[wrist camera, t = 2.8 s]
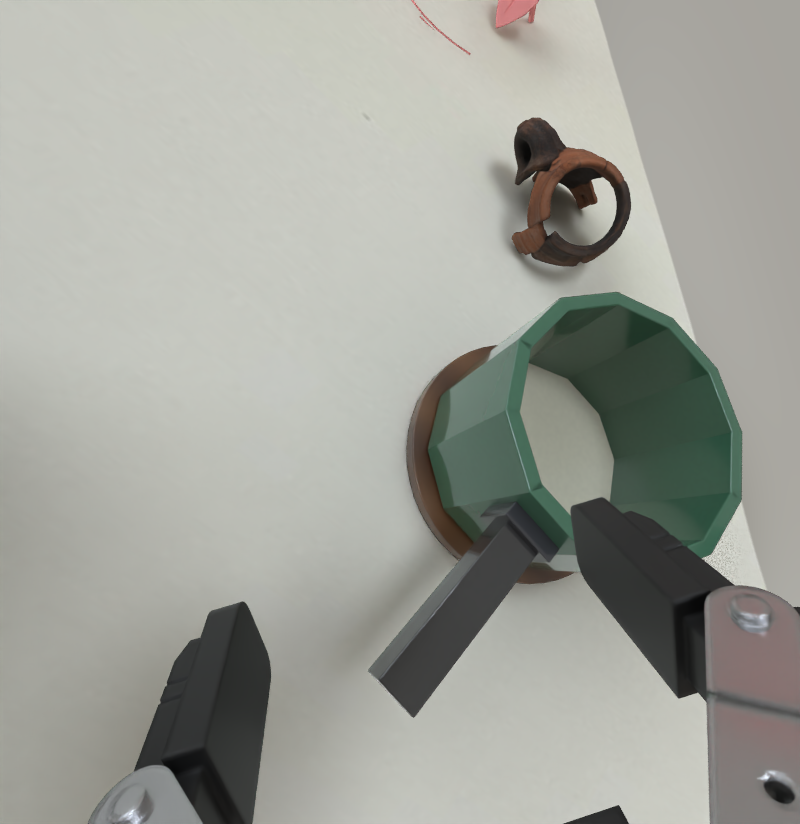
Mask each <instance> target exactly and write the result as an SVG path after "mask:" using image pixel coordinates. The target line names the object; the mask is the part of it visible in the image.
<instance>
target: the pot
mask: <svg viewBox="0 0 800 824" xmlns="http://www.w3.org/2000/svg"><path fill="white" fill-rule="evenodd" d="M428 453H429V456H430V460H431V464H432V468H433V471H434V475H435V479H436V483H437V487H438V490H439V494H440V498H441V502H442V505H443V509H444V510H445V511H446V512H447V513H448V514H449V515H450V517H451V518H452V519H453V520H454V521H455V522H456V523H457V524H458V525H459V526H460V528H461V529H462V530H463V531H464V532H465V533H466V534H467V535H468V536H469V537H470V539H471V540H472V541H473V542H474V544H473V545H472V546H471V547H470V549H469V550H468V551H467V552H466V553H465V555H464V556H463V557H462V558H461V559H460V561H459V562H458V563H457V564H456V565H455V567H454V568H453V569H452V570H451V571H450V573H449V574H448V575H447V576H446V577H445V579H444V580H443V581H442V582H441V583H440V585H439V586H438V587H437V588H436V589H435V591H434V592H433V593H432V594H431V595H430V597H429V598H428V599H427V600H426V601H425V602H424V604H423V605H422V606H421V607H420V608H419V610H418V611H417V612H416V613H415V614H414V616H413V617H412V618H411V619H410V620H409V622H408V623H407V624H406V625H405V626H404V628H403V629H402V630H401V631H400V632H399V634H398V635H397V636H396V637H395V638H394V640H393V641H392V642H391V643H390V644H389V646H388V647H387V648H386V649H385V650H384V652H383V653H382V654H381V655H380V656H379V658H378V659H377V660H376V661H375V662H374V664H373V665H372V666H371V667H370V668H369V670H368V672H369V673H370V674H371V675H372V676H373V677H374V678H375V679H376V680H377V682H378V683H379V684H380V685H381V686H382V687H383V688H384V689H385V690H386V691H387V692H388V693H389V694H390V696H391V697H392V698H393V699H394V700H395V701H396V702H397V703H398V704H399V705H400V706H401V707H402V708H403V709H404V710H405V711H406V712H407V713H408V714H409V715H410V716H412V717H413V718H414V717H415V716H416V714H417V713H418V712H419V710H420V709H421V708H422V707H423V705H424V704H425V703H426V701H427V700H428V699H429V697H430V696H431V695H432V693H433V692H434V691H435V689H436V688H437V687H438V685H439V684H440V683H441V681H442V680H443V679H444V677H445V676H446V675H447V673H448V672H449V671H450V669H451V668H452V667H453V665H454V664H455V663H456V661H457V660H458V659H459V657H460V656H461V655H462V653H463V652H464V651H465V650H466V648H467V647H468V646H469V644H470V643H471V642H472V640H473V639H474V638H475V636H476V635H477V634H478V632H479V631H480V630H481V628H482V627H483V626H484V624H485V623H486V622H487V620H488V619H489V618H490V616H491V615H492V614H493V612H494V611H495V610H496V608H497V607H498V606H499V604H500V603H501V602H502V600H503V599H504V598H505V596H506V595H507V594H508V593H509V591H510V590H511V589H512V587H513V586H514V585H515V583H516V582H517V581H518V579H519V578H520V577H521V575H522V574H523V573H524V571H525V570H526V569H527V567H530V568H534V569H541V570H556V571H571V572H581V571H580V568H579V565H578V562H577V557H576V550H575V543H574V536H573V529H572V521H571V514H570V510H571V506H572V505H576V504H579V503H583V502H586V501H589V500H593V499H596V498H600V497H603V498H605V499H606V500H608V501H609V502H610V503H611V504H612V505H613V506H614V507H616V508H617V509H618V510H619V511H620V512H621V513H625V512H628V511H633V512H636V513H638V514H641V515H643V516H646V517H648V518H651V519H653V520H654V521H656V522H657V523H658V524H659V525H661V526H662V527H663V528H664V529H666V530H667V531H668V532H669V534H670V535H673V536H674V537H675V538H677V539H678V540H679V541H680V542H682V544H683V546H687V547H688V548H689V549H690V550H692V551H693V552H694V553H695V554H696V555H698V556H699V557H700V558H703V557H706V556H709V555H711V554H712V552H713V550H714V549H715V547H716V545H717V543H718V541H719V540H720V538H721V536H722V534H723V532H724V531H725V529H726V527H727V525H728V524H729V522H730V520H731V518H732V516H733V515H734V513H735V511H736V509H737V507H738V506H739V504H740V502H741V500H742V431H741V428H740V426H739V423H738V421H737V418H736V416H735V413H734V410H733V408H732V405H731V403H730V400H729V397H728V395H727V392H726V390H725V387H724V385H723V382H722V379H721V377H720V374H719V372H718V369H717V368H716V367H715V366H714V364H713V363H712V362H711V361H710V360H709V359H708V358H707V356H706V355H705V354H704V353H703V352H702V351H701V350H700V348H699V347H698V346H697V345H696V344H695V343H694V342H693V341H692V339H691V338H690V337H689V336H688V335H687V334H686V333H685V332H684V330H683V329H682V328H681V327H680V326H679V325H678V324H677V322H676V321H675V320H674V319H673V318H671V317H669V316H667V315H665V314H663V313H661V312H659V311H657V310H654V309H652V308H650V307H648V306H646V305H644V304H642V303H640V302H637V301H635V300H633V299H631V298H629V297H627V296H625V295H623V294H620V293H618V292H611V293H602V294H592V295H583V296H573V297H564V298H559V299H558V300H557V301H556V302H554V303H553V304H552V305H550V306H549V307H548V308H546V309H545V310H544V311H542V312H541V313H540V314H538V315H537V316H536V317H535V318H533V319H532V320H531V321H529V322H528V323H527V324H525V325H524V326H523V327H521V328H520V329H519V330H517V331H516V332H515V333H514V334H512V335H511V336H510V337H508V338H507V339H506V340H504V341H503V342H502V343H500V344H499V345H498V346H497V347H495V348H494V349H493V350H491V351H490V352H489V353H487V354H486V355H485V356H483V357H482V358H481V359H479V360H478V361H477V362H476V363H474V364H473V365H472V366H471V367H470V368H469V369H468V370H467V371H466V372H465V373H464V374H463V375H462V376H461V377H460V378H459V379H458V380H457V381H456V382H455V383H454V384H452V385H451V386H450V387H449V388H448V389H447V390H446V391H445V392H444V393H443V394H442V395H441V396H440V400H439V405H438V409H437V413H436V417H435V421H434V425H433V429H432V434H431V438H430V442H429V446H428Z"/></svg>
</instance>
